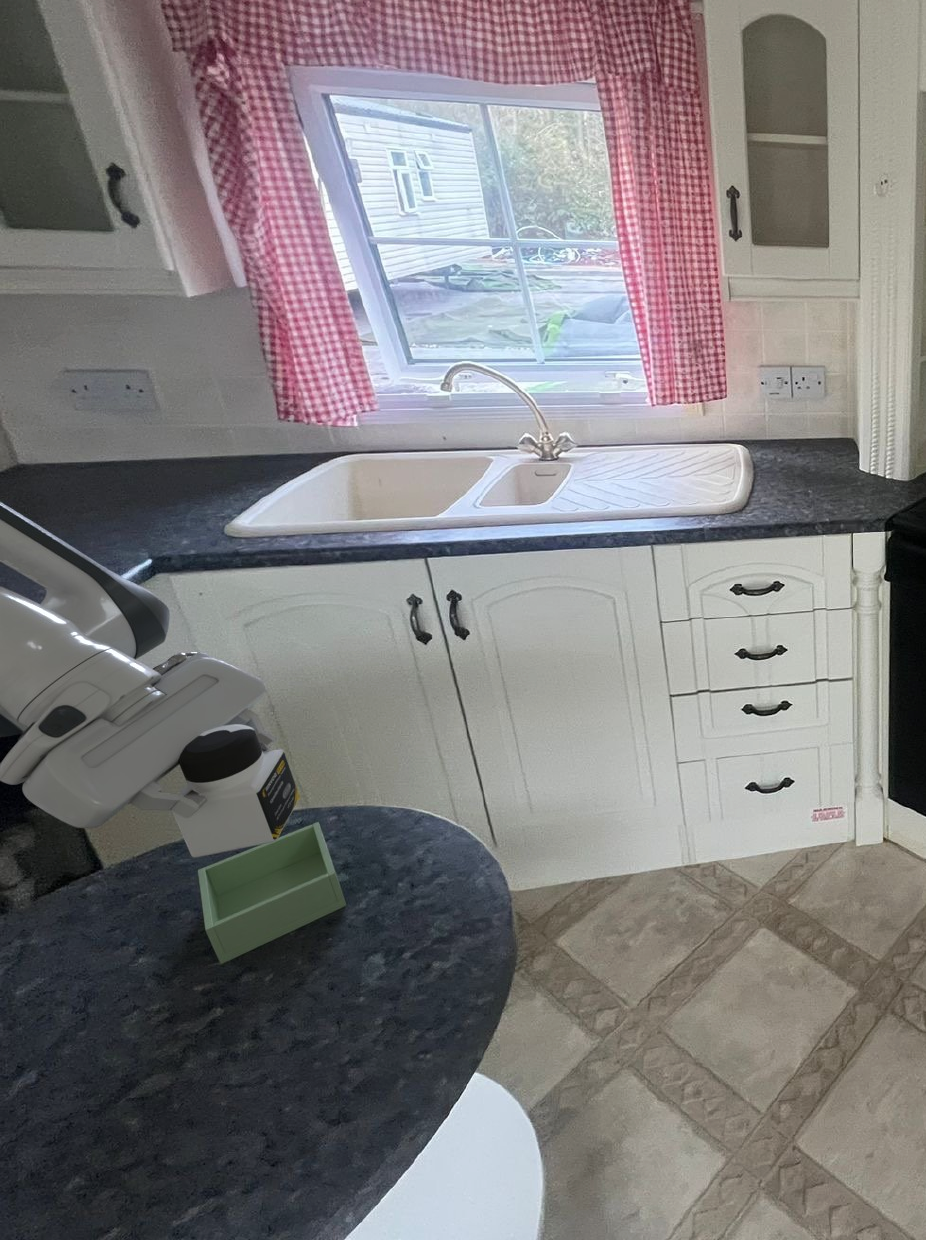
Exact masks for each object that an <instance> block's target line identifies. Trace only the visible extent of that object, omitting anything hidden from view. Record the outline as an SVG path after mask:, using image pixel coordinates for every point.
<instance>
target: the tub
mask: <svg viewBox="0 0 926 1240" xmlns="http://www.w3.org/2000/svg"><path fill="white" fill-rule="evenodd" d="M322 830H323V829H322V827H321V825H320V821H316V822H315V823H312V824H310V825H306V826H303V827H302V828H300V829H297V830H294V831H291V832H289V833H287V834H285V835H282V836H279V837H278V839H277V840H276V841H275V842H271V843H266V844H261V845H256V846H253V847H252V848H250V849H247V850H244V851H242V852H239V853H237V854H235V855H234V854H233V855H232V856H229V857H227V858H224V859H222V860H219V861H217V862H215V863H211V864H209V865H206V866H204V867H202V868H199V869H197V875H198V883H199V891H200V899H201V906H202V915H203V922H204V923H203V924H204V931H205V932H206V935H207V937H208V940H209V941H210V944H211V946H212V948H213V950H214V952H215V955H216V957H217V959H218V961H219V964H220V965H223V964H225V963H227V962H229V961H231V960H233V959H236V958H238V957H240V956H242V955H244V954H246V953H249V952H250V951H253V950H254V949H257V948H259V947H261V946H263V945H266V944H267V943H270V942H272V941H274V940H276V939H278V938H280V937H283V936H285V935H287V934H289V933H291V932H293V931H295V930H298V929H300V928H302V927H304V926H306V925H308V924H310V923H312V922H315V921H317V920H319V919H322V918H323V917H325V916H327V915H329V914H332V913H334V912H336V911H338V910H340V909H342V908H345V907H346V906H347V903H346V900H345V899H346V898H345V897H344V893H343V890H342V887H341V883H340V881H339V878H338V874H337V872H336V869H335V865H334V862H333V859H332V857H331V852H330V850H329V847H328V845H327V841H326V839H325V836H324V833H323V831H322Z"/></svg>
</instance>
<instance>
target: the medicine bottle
mask: <svg viewBox="0 0 926 1240" xmlns="http://www.w3.org/2000/svg"><path fill="white" fill-rule="evenodd" d="M178 762H179V765H178V766H179V767H180V770H181V772H182V774H183V777H184V779H185V781H186V784H185V785H184V786H183V788H182V789H181V790H180V792H179V793H178V794H181V795H184V796H185V795H186V794H187V793H188V792H190V791H191V790H193V791H195V792H197V793H199V795H200V796H204V797H206V798H207V802H206V803H205V804H204V805H203V806H202V807H201V808H200V809H199V810H198V811H197V812H196V813H194V814H193V815H192V816H191V817H190V818H185V817H183V816H181V815H179V814H177V813H175V812H173V811H171V813H172V815H173V817H174V819H175V821H176V824H177V826H178V828H179V831H180V834H181V836H182V838H183V840H184V842H185V844H186V847H187V849H188V852H189V854H190V856H191V857H192V858H200V857H201V858H202V857H205V856H210V855H216V854H220V853H221V854H222V853H225V852H229V851H236V850H241V849H246V848H250V847H257V846H259V845H262V844H266V843H271V842H275V841H276V840H277V839H278V838H279V837H280V835H281V833H282V831H283V830H284V828H285V827H286V824H287V822H288V820H289V819H290V817H291V815H292V813H293V811H294V810H295V808H296V806H297V805H298V802H299V800H300V799H301V798H300V792H299V790H298V786H297V785H296V782H295V779H294V776H293V773H292V771H291V770H292V769H291V767H290V765H289V762H288V758H287V756H286V753H285V751H284V749H282V748H280V749H273V750H267V751H266V752H262V749H261V746H260V744H259V741H258V738H257V735H256V733H255V730H254V729H253V728H252V727H249V726H246V725H240V724H234V725H226V726H221V727H217V728H214V729H211V730H208V731H205V732H203V733H202V734H200V735H199V736H197V737H196V738H195V739H193V740H192V741H191V742H190V743H189V744H187V745H186V746H185V748H184V749H183V751H182V752H181V754H180V757H179V760H178Z"/></svg>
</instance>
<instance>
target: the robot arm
mask: <svg viewBox="0 0 926 1240" xmlns="http://www.w3.org/2000/svg"><path fill="white" fill-rule="evenodd" d="M0 563H2V564H4V565H5V566H7V567H9V568H10V569H12V570H14V571H16V572H17V573H19V574H21V575H23V576H24V577H26V578H28V579H29V580H31V581H33V582H34V583H36V584H38V585H40V586H41V587H43V588H44V589H45V591H46V593H45V597H44V599H43V600H41V602H40V603H38V602H36V601H34V600H32V599H30V598H28V597H26V596H23V595H22V594H19V593H18V592H15V591H14V590H13V591H12V590H11V589H8V588H6V587H4V586H1V585H0V738H4V737H11V736H18V735H20V736H19V737H18V738H17V742H16V743H15V745H14V746H12V748H11V749H10V750H9V751H8V753H7V754H6V755H5V757H4V758H3V760H2V761H1V762H0V782H2V783H4V784H7V785H12V786H14V785H19V784H22V787H21V789H22V794H23V795H24V797H25V798H26V799H27V800H28V801H29V802H30V803H32V804H33V805H34V806H36V807H38V808H39V809H41V810H42V811H44V812H46V813H47V814H48V815H51V816H52V817H54V818H56V819H57V820H60V821H61V822H63V823H65V824H67V825H69V826H71V827H74V828H77V829H93V828H99V827H102V826H103V825H104V824H106V823H107V822H108V821H109V820H111V819H112V818H113V817H114V816H115V815H117V814H118V813H119V812H121V811H122V810H123V809H125V807H127V806H129V804H130V805H132V806H134V807H136V808H137V809H140V810H142V811H166V812H169V811H171V812H172V811H173V812H175V813H177V814H179V815H181V816H183V817H185V818H190V817H191V816H192V815H193V814H194V813H196V812H197V811H198V810H199V809H200V808H201V807H202V806H203V805H204V804H205V803H206V802H207V798H206V797H204V796H200V795H199V793H197V792H195V791H193V790H191V791H190V792H188V793H187V794H186V795H185V796H184V795H181V794H179V793H173V792H164V791H163V790H164V789H165V787H164V786H163V785H162V784H161V783H158V782H159V781H161V780H162V779H163V778H164V777H166V776H167V775H168V774H170V773H171V772H172V771H173V770H175V768H177V767H179V766H180V765H179V762H178V760H179V757H180V754H181V752H182V751H183V749H184V748H185V746H186V745H187V744H189V743H190V742H191V741H192V740H193V739H195V738H196V737H197V736H199V735H200V734H202V733H203V732H205V731H208V730H211V729H214V728H217V727H221V726H226V725H234V724H240V725H246V726H249V727H252V728H253V729H254V730H255V733H256V735H257V738H258V741H259V744H260V746H261V749H262V752H266V751H270V749H271V748H272V747H274V745H275V744H276V743H277V742H278V738H277V737H276V735H275V736H274V735H273V734H271V733H270V732H268V731H266V730H265V727H264V725H263V723H262V721H261V719H260V717H259V714H258V713H255V712H254V711H252V709H253V708H254V707H255V706H257V704H258V703H259V702H260V701H261V700H262V699H263V698H264V697H265V696H266V694H267V693H268V688H267V686H266V684H265V681H263V680H262V679H261V678H258V677H256V676H255V675H253V674H251V673H249V672H247V671H245V670H243V669H241V668H238V667H237V666H234V665H232V664H229V663H228V662H225V661H223V660H221V659H217V658H214V657H212V656H210V655H209V654H207V653H205V652H202V651H197V652H196V651H194V652H193V651H190V652H179V653H176V654H174V655H171V656H170V657H169V658H168V659H167V660H166V661H163V662H162V663H160V664H158V665H157V666H155V667H153V668H151V667H150V666H148V665H146V664H144V663H143V662H141V661H139V660H137V659H140V658H141V657H142V656H144V655H146V654H147V653H149V652H151V651H152V650H154V649H155V648H157V647H159V646H161V645H162V644H164V643H165V641H166V638H167V635H168V632H169V631H168V630H169V627H170V609H169V607H168V606H167V605H166V604H165V603H164V602H163V600H162V599H160V598H159V597H158V596H157V595H155V594H154V592H153V593H152V592H151V591H150V590H148V589H147V588H145V587H143V586H142V585H140V584H137V583H135V582H133V581H130V580H128V578H127V579H126V578H125V577H123V576H121V575H120V574H118V573H116V572H114V571H112V570H110V569H109V568H107V567H106V566H103V565H102V564H100V563H99V562H97V561H96V560H94V559H92V558H90V557H89V556H87V555H86V554H84V553H83V552H81V551H79V550H78V549H77V548H75V547H74V546H72V545H70V544H69V543H67V542H65V541H64V540H63V539H61V538H59V536H58V537H57V536H56V535H54V534H53V533H52V532H50V531H48V530H47V529H45V528H44V527H43V526H41V525H39V524H37V523H36V522H34V521H32V520H31V519H29V518H28V517H26V516H24V515H23V514H21V513H20V512H18V511H16V510H15V509H13V508H12V507H10V506H8V505H6V504H5V503H3V502H2V501H0ZM173 812H172V813H173Z"/></svg>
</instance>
